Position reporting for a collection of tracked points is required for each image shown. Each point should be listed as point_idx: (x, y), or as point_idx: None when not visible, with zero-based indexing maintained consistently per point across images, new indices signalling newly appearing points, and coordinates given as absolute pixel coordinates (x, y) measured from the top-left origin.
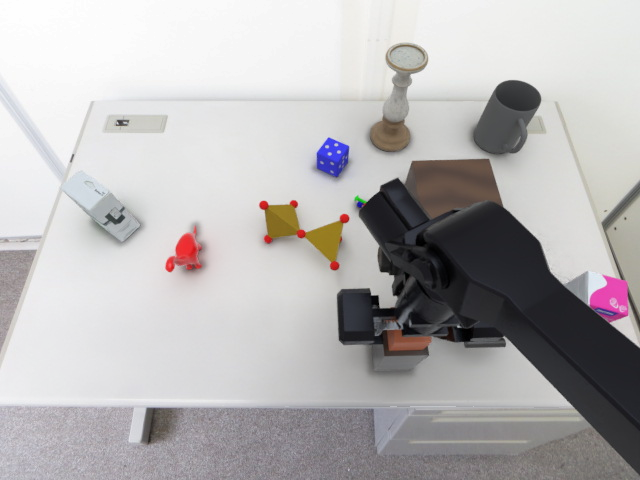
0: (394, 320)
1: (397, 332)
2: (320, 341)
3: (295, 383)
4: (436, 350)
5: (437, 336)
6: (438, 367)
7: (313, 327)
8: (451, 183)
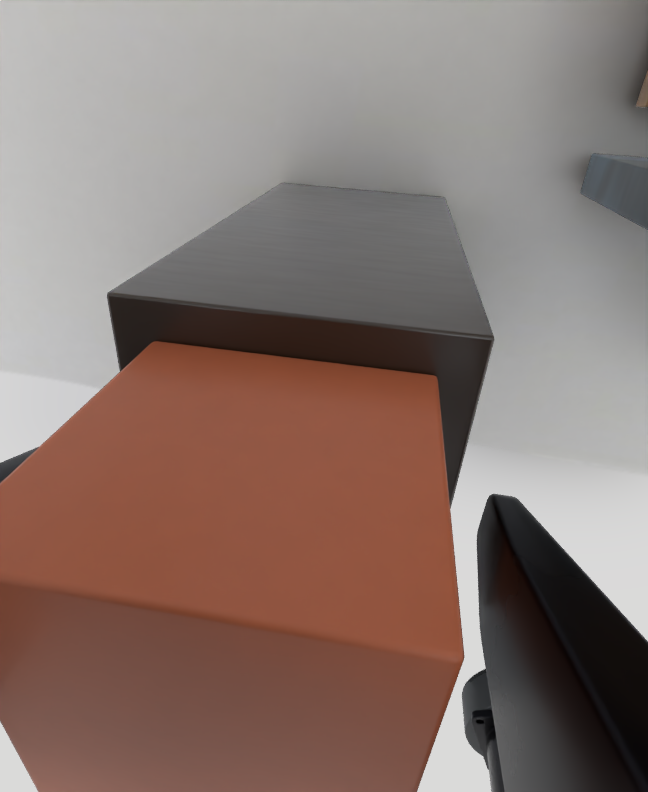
0: (4, 682)
1: (56, 756)
2: (70, 190)
3: (16, 331)
4: (556, 290)
5: (495, 720)
6: (532, 354)
7: (29, 119)
8: None
